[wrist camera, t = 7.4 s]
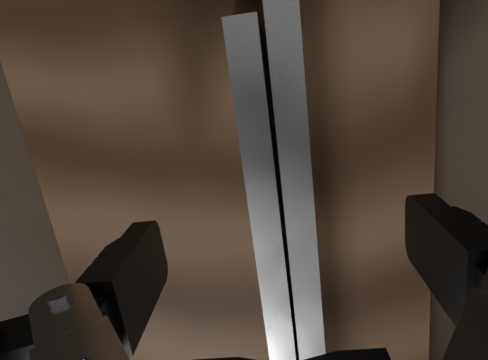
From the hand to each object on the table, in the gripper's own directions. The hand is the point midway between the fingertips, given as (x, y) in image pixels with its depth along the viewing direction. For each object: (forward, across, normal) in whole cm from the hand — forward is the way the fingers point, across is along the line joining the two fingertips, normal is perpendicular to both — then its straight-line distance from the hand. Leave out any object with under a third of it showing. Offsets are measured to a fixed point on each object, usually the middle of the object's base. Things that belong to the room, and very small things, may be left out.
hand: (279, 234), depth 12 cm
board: (+5, +2, +4) cm, 7 cm away
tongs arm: (+3, +1, +6) cm, 7 cm away
